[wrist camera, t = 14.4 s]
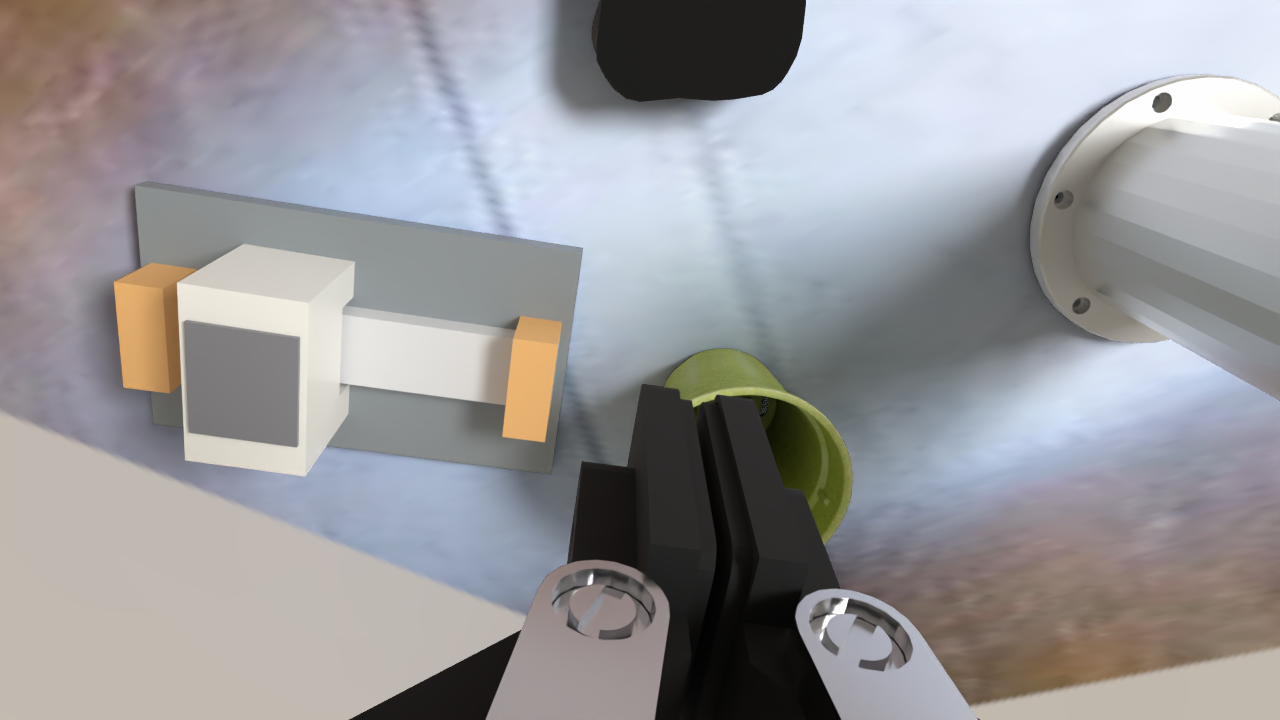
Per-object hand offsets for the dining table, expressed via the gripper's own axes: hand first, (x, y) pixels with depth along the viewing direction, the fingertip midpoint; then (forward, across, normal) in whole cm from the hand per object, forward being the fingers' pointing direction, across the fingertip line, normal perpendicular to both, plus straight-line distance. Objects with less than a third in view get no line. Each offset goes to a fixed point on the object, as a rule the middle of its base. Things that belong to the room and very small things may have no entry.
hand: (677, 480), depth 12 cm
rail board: (+27, +12, +10) cm, 31 cm away
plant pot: (+27, -6, +11) cm, 30 cm away
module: (+26, +15, +10) cm, 31 cm away
